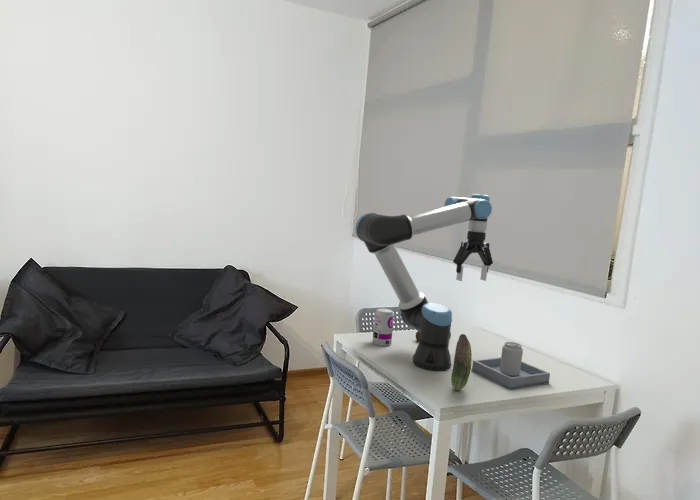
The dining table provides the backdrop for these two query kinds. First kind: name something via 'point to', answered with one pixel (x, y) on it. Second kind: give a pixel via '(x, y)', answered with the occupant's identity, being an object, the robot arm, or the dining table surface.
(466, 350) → the vegetable
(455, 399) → the dining table surface
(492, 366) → the box
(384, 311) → the supplement can
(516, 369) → the can
